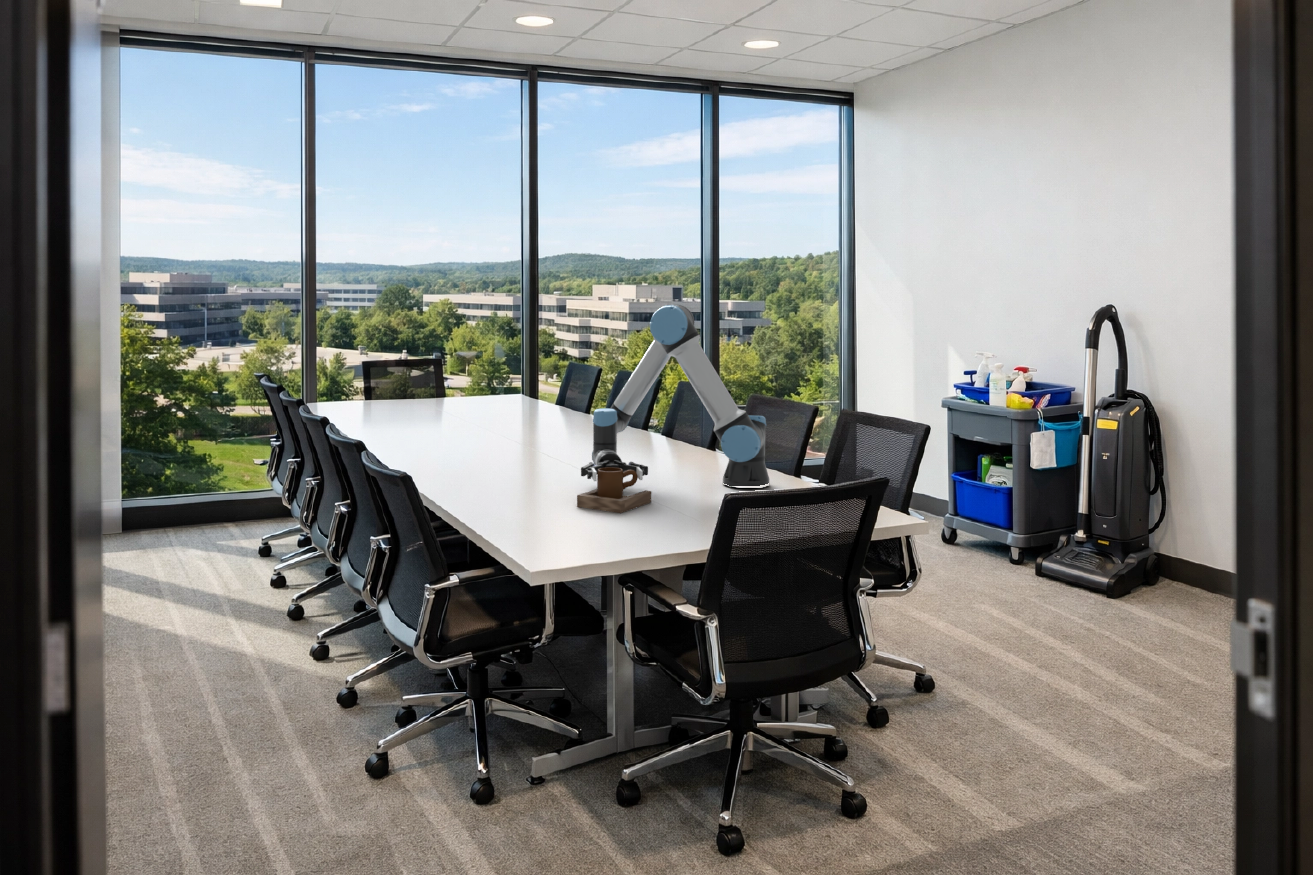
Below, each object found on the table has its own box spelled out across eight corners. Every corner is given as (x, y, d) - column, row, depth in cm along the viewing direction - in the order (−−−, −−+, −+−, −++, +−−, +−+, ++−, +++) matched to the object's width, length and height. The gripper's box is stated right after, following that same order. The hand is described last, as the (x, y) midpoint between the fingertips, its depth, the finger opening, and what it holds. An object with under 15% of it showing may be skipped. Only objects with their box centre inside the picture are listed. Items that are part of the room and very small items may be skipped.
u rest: (651, 502, 299) (651, 490, 298) (620, 513, 284) (621, 501, 284) (608, 496, 306) (608, 485, 306) (577, 506, 291) (577, 495, 291)
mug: (635, 497, 301) (635, 466, 299) (639, 502, 293) (640, 471, 292) (595, 498, 298) (595, 467, 297) (599, 503, 291) (599, 472, 290)
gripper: (648, 474, 315) (660, 487, 294) (568, 475, 310) (575, 489, 290) (648, 450, 314) (660, 462, 293) (568, 451, 309) (575, 464, 289)
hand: (618, 476), depth 291 cm, fingers open, 13 cm apart
